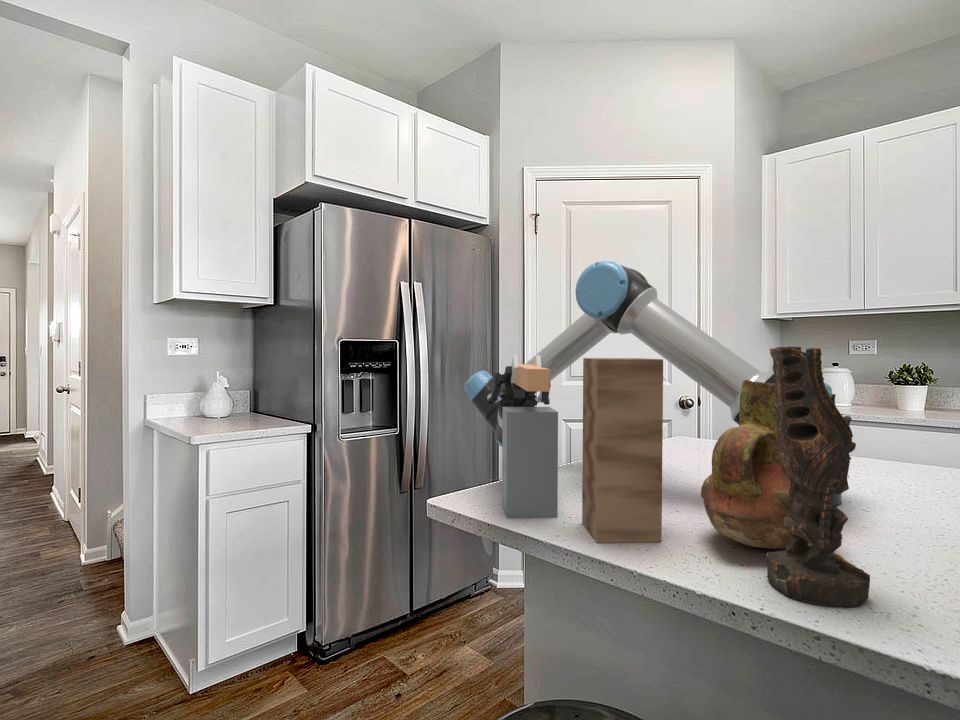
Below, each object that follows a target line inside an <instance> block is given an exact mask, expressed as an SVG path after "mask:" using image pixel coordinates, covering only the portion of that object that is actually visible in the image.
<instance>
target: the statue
mask: <svg viewBox="0 0 960 720" xmlns="http://www.w3.org/2000/svg"><path fill="white" fill-rule="evenodd" d="M769 351H770V356H771V358H772V361H773V362H772V363H773V364H772V370H773V372H774V374H775V385H776V388H777V389H776V393H777V402H776V403H777V411H778V412H777V414H776V415H775V422H776V426H777V435H776V446H777V453H778V458H779V462H780V466H781V468H782V471H783V473H784V475H785V476H786V477H787V478H788V479H789V480H790V481H791V482H790V486H791V488H790V489H789V494H790V495H789V496H788V500H789V502H788V509H787V514H786V515H785V517H784V526H785V527H786V528H787V530H788V531H790V537H789V541H788V544H787V546H786V549H781V550H779V551H777V550H776V551H772V552H767V553H766V556H765V558H766V559H765V560H766V565H767V566H766V567H767V572H766V573H767V579H768V581H769V582H770V584H771V585H772V586H773V587H774V588H776V589H777V590H779V592H781V593H782V594H785V595H787V596H789V597H791V598H793V599H796V600H798V601H799V600H800V601H802V602H806V603H811V604H815V605H819V606H820V605H821V606H828V607H840V608H856V607H859V606H862V605H863V604H864V603H865V602H866V601H868V599H869V593H870V587H871V586H870V585H871V575H870V574H869V573H867V572H865V570H863V569H861V568H860V567H858V566H856V565H854V564H853V563H851V562H848V560H846V559H845V558H844V557H843V556H841V555H840V554H838V553H836V550H838V549H839V548H840V547H842V541H843V533H842V532H843V529H844V526H845V524H846V523H847V522H848V521H849V518H848V516H847V515H846V514H845V513H844V512H843V511H842V510H840V508H838V507H836V506H834V505H833V504H831V503H830V502H829V501H830V499H831V497H830V495H832V500H833V498H834V497H833V495H834V494H841V495H842V493H845V492H847V491H848V490H849V488H850V487H849V482H848V479H849V477H850V475H848V474H849V469H850V464H851V459H852V457H851V456H850V453H852V452H854V451H855V449H856V446H857V443H856V442H854V441H853V437H854V434H853V431H852V429H851V425H850V423H851V421H852V419H853V418H852V417H851V416H849V415H845V416H843V415H842V413H841V412H840V411H839V409H838V408H837V406H836V401H835V400H836V393H832V394H829V393H828V391H827V389H826V387H825V384H824V383H825V381H824V380H825V378H824V376H823V373H824V372H823V371H822V363H823V361H822V354H823V353H822V348H817V347H810V348H806V349H805V351H802V346H791V345H790V346H778V347H777V346H776V347H775V348H769ZM810 544H811V545H810Z"/></svg>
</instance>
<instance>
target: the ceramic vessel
mask: <svg viewBox="0 0 960 720" xmlns="http://www.w3.org/2000/svg"><path fill="white" fill-rule="evenodd" d="M776 389H777V388H776V385H775V384H770V383H763V382H754V381H749V380H744V381H743V383H742V387H741V393H740V411H739V416H740V423H739V424H738V426H734V427H730V428H728V429H726V430H725V431H724V432H723V433H722V434H721V435H720V436H719V437H718V439H717V441H716V442H715V444H714V447H713V449H712V455H711V474H709V475H708V476H707V477H706V478H705V480H703V483H702V485H701V488H700V496H701V498H702V499H703V504H704V509H705V512H706V515H707V517H708V518H709V519H708V520H709V522H710V524H711V525H712V526H713V529H715V530H716V531H717V532H718V533H719V534H721V535H722V536H724V537H726V538H727V539H731V540H732V541H735V542H737V543H739V544H741V545H744V546H748V547H751V548H756V549H757V548H758V549H769V550H770V549H771V550H772V549H773V550H777V549H778V550H786V546H787V544H788V541H789V537H790V531H788V530H787V528H786V527H785V526H784V517H785V515H786V514H787V509H788V502H789V500H788V496H789V495H790V494H789V489H790V488H791V486H790V482H791V481H790V480H789V479H788V478H787V477H786V476H785V475H784V473H783V471H782V468H781V466H780V462H779V458H778V453H777V446H776V435H777V426H776V422H775V415H776V414H777V412H778V411H777V403H776V402H777V393H776ZM829 502H830V501H829Z"/></svg>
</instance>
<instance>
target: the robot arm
mask: <svg viewBox="0 0 960 720" xmlns="http://www.w3.org/2000/svg"><path fill="white" fill-rule="evenodd" d="M575 300H576V303H577V305H578V307H579V309H580V310H581V311H582V312H583V314H582V315H581V316H580V317H578V319H576V320H575V321H574V322H573V323H572V324H571V325H569V326H568V327H567V328H566V329H565V330H563V331H562V332H561V333H560V334H558V336H556V337H554V339H553V340H552V341H550V342H549V343H548V344H547V345H546V346H545V347H544V348H543V349H540V351H539V352H537V353H536V354H535V355H534V356H532V358H531V359H529V360H528V361H527V362H526V363H525V364H530V365H534V366H538V367H543V368H547V369H550V387H551V386H552V384H551V381H553V380H554V379H555V378H556V377H558V376H559V375H560V374H561V373H563V372H564V371H566V369H568V368H569V367H570V366H572V365H573V364H574V363H576V361H578V360H579V359H580V358H582V356H584V355H585V354H586V353H587V352H589V351H590V350H592V348H594V347H595V346H596V345H598V344H599V343H600V342H601V341H603V339H605V338H607V336H609V335H610V334H618V335H628V334H632V336H634V337H636V338H637V339H638V340H639V341H641V343H643V344H645V345H646V346H647V347H649V348H650V349H652V351H654V352H656V354H658V355H660V357H662V358H663V359H665V360H666V362H669V363H670V364H671V365H673V366H674V367H675V368H677V369H678V370H679V371H680V372H682V373H683V374H685V375H686V376H688V377H689V378H690V379H691V380H693V381H694V382H695V383H697V384H698V385H699V386H701V388H703V389H704V390H706V391H707V392H709V393H710V394H711V395H713V397H715V398H717V399H718V400H719V401H720V402H722V403H723V404H724V405H726V406H727V407H728V408H729V410H730V414H731V420H732V421H734V422H735V423H736V424H737V425H739V423H740V416H739V411H740V393H741V387H742V383H743V381H744V380H749V381H754V382H763V383H770V384H775V374H774V372H773V371H761V370H759V369H758V368H756V367H755V366H753V365H752V364H751V363H749V362H748V361H746V360H745V359H743V358H742V357H740V356H739V355H737V354H736V353H735V352H733V351H732V350H730V349H729V348H727V347H726V346H725V345H723V344H722V343H721V342H719V341H718V340H716V339H715V338H713V337H712V336H711V335H709V334H708V333H706V332H705V331H704V330H702V329H700V328H699V327H698V326H697V325H694V324H693V323H692V322H690V321H689V320H688V319H686V318H684V316H682V315H681V314H679V313H678V312H676V311H675V310H674V309H672V308H670V307H669V306H667V305H666V304H665V303H663V302H662V301H661V300H659V299H658V291H657V289H656V287H654V286H652V285H651V284H650V283H649V282H648V280H647V278H646V277H645V276H644V275H643V274H642V273H641V272H639V271H638V270H636V269H634V268H630V267H628V266H627V267H626V266H624V265H622V264H620V263H618V262H615V261H611V260H607V261H606V260H601V261H597V262H594V263H591V264H590V265H589V266H587V267H586V268H585V269H584V270H583V271H582V272H581V274H580V276H579V277H578V279H577V281H576V285H575ZM518 364H519V363H518V354H513V355H512V360H511V365H509V366H508V365H507V366H505V370H504V373H503V374H501V373H500V372H496V373H494V377H493V375H492V374H490V373H489V372H488V371H487V370H480V371H478V372H475V373H474V374H473V375H471V376H470V377H469V378H468V379H467V380H466V382H465V384H464V387H463V388H464V389H463V390H464V392H465V393H466V395H467V397H468V398H469V400H470V401H471V403H472V404H473V406H475V408H476V409H477V410H478V411H479V413H480V414H481V416H482V417H483V419H485V421H486V422H487V424H488V425H489V427H490V428H491V429H492V430H493V434H494V439H495V442H496V443H497V444H498V446H500V447H502V407H537V405H538V403H541V404H542V403H543V405H546V406H549V405H550V391H551V388H550V389H549V392H540V391H526V390H524V389H523V388H521V387H519V386H518V385H516V384H515V379H516V374H517V370H518ZM824 384H825V387H826V389H827V391H828V393H829V394H833V388H832V387H831V385H830V384H828V383H827V382H824ZM538 392H539V394H538V396H537V395H536V394H537V393H538ZM830 497H831V499H830V503H831V504H833V505H834V506H835V507H836V506H839V505H840V504H842V493H841V494H834V495H833V497H834V498H833V500H832V495H830Z"/></svg>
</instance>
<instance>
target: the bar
mask: <svg viewBox="0 0 960 720" xmlns="http://www.w3.org/2000/svg"><path fill="white" fill-rule="evenodd" d="M550 383H551V381H550V369H547V368H543V367H538V366H534V365H530V364H526V363H523V364H521V363H518V370H517V374H516V379H515V384H516V385H518V386H519V387H521V388H523V389H524V390H526V391H538V392H539V393H540V392H549V393H550V391H549V389H550V390H551V386H550Z"/></svg>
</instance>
